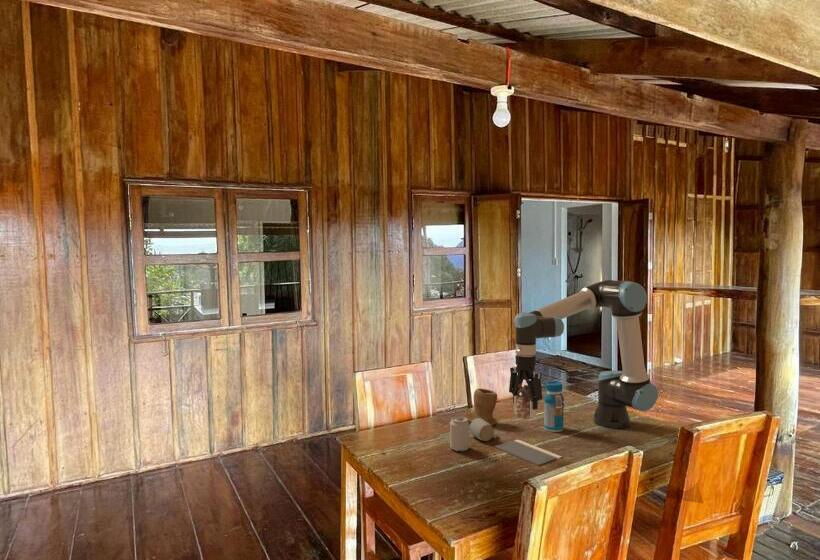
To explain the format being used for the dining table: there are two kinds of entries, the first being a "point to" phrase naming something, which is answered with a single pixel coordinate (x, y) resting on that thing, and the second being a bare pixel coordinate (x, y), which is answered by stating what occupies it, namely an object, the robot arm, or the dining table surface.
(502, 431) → the dining table surface
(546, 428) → the beverage bottle
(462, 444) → the can
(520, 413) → the figurine
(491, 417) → the brown boot planter
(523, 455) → the mat
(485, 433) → the ceramic mug
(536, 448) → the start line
